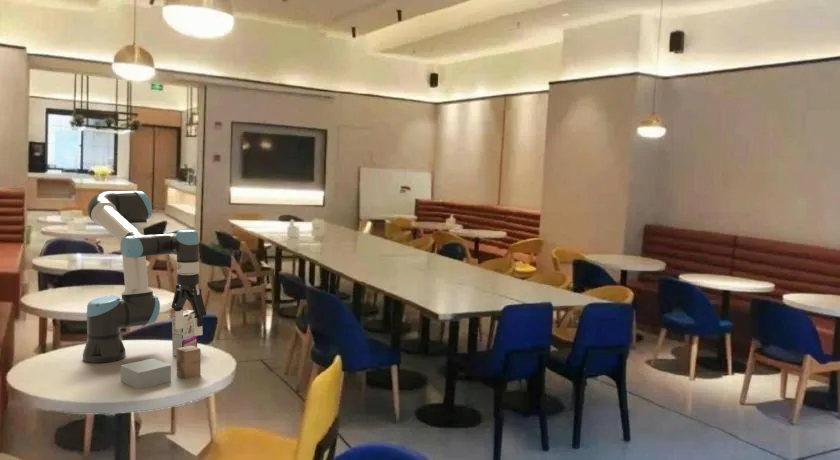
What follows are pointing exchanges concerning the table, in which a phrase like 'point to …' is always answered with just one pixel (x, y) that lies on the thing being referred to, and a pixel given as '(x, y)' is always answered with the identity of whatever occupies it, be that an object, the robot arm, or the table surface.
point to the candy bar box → (184, 332)
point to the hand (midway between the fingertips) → (188, 331)
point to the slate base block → (145, 373)
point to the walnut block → (188, 362)
